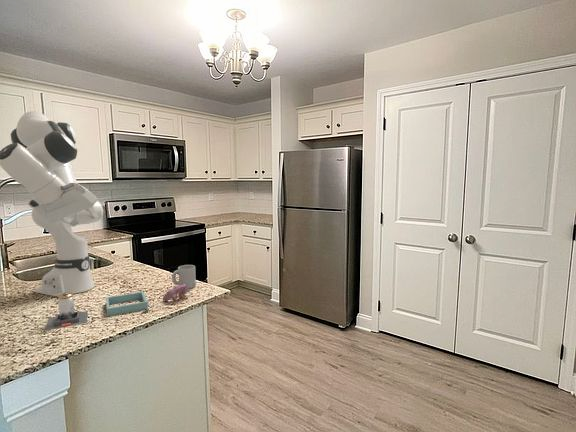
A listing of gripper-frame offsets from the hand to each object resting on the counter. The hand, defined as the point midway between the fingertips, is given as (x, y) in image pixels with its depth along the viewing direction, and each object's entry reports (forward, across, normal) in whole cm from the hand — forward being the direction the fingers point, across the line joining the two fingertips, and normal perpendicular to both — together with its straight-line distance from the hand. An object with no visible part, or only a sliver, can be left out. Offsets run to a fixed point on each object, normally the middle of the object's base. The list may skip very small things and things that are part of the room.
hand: (85, 221), depth 108 cm
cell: (+19, +10, +25) cm, 33 cm away
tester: (+20, +11, +26) cm, 34 cm away
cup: (+50, -3, -6) cm, 50 cm away
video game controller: (+43, -8, +6) cm, 44 cm away
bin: (+31, +1, +16) cm, 35 cm away
